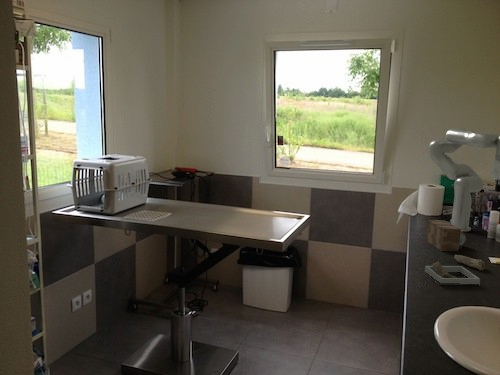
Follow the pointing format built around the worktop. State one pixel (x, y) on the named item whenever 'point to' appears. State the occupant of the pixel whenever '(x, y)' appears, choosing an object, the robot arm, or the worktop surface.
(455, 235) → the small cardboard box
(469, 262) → the bone fragment
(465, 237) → the tin
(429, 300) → the worktop surface
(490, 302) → the worktop surface
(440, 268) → the vertebra
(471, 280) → the frame
